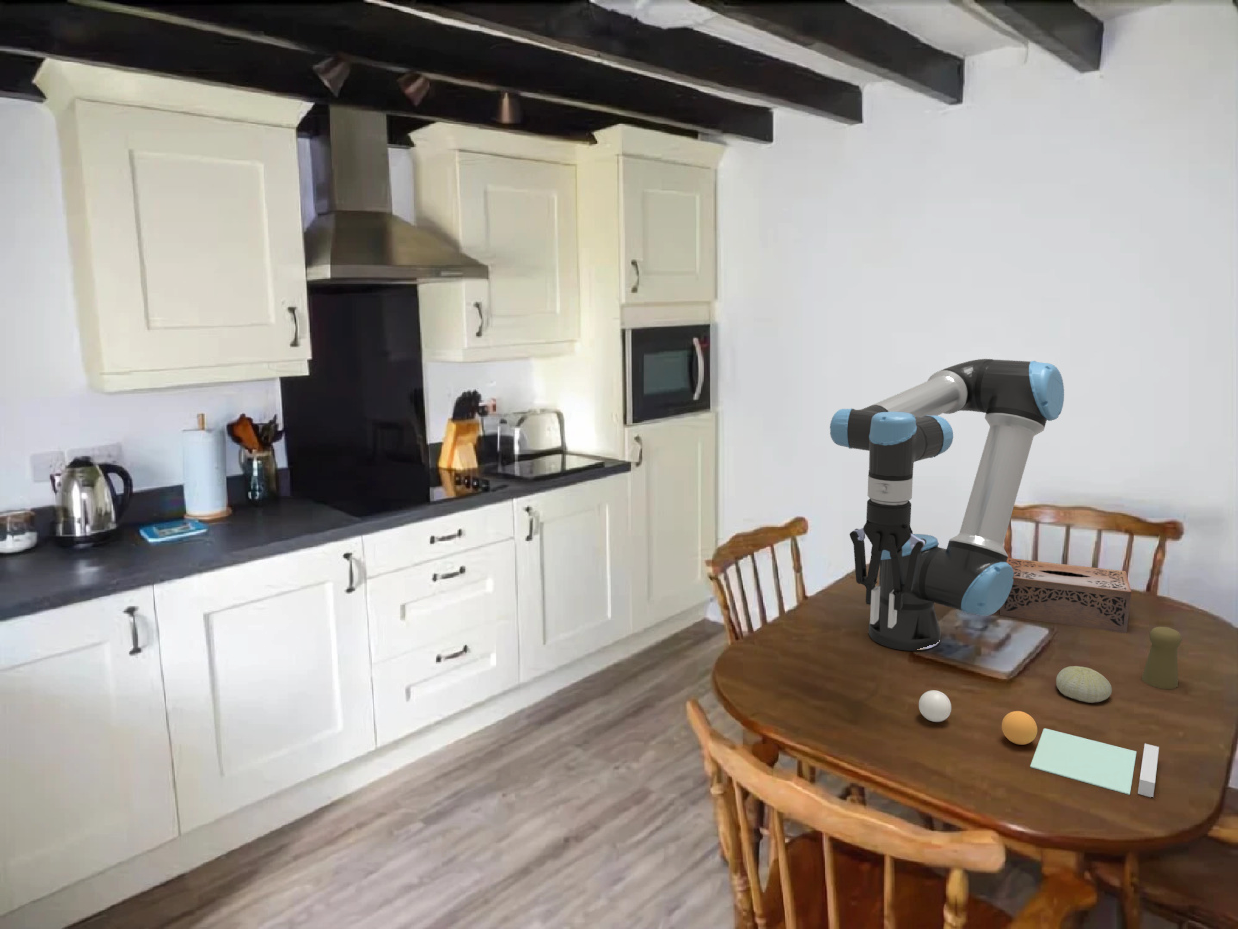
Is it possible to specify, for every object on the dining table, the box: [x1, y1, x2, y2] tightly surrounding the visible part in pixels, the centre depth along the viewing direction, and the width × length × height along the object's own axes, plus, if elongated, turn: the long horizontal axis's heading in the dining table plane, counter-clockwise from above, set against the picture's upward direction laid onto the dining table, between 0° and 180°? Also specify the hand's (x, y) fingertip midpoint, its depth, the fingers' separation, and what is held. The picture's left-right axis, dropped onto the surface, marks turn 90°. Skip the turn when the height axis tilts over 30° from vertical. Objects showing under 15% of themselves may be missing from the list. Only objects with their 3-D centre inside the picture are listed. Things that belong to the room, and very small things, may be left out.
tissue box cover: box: [999, 557, 1132, 634], centre depth 197 cm, size 26×14×10 cm, turn 64°
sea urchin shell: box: [1055, 665, 1113, 704], centre depth 160 cm, size 9×8×8 cm
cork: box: [1141, 626, 1183, 690], centre depth 163 cm, size 6×6×11 cm
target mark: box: [1029, 727, 1137, 796], centre depth 139 cm, size 14×14×1 cm
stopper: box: [1137, 743, 1160, 798], centre depth 133 cm, size 2×12×2 cm, turn 145°
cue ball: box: [918, 689, 952, 723], centre depth 152 cm, size 6×6×6 cm
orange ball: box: [1001, 710, 1038, 745], centre depth 144 cm, size 6×6×6 cm
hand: (883, 623), depth 154 cm, fingers open, 3 cm apart
